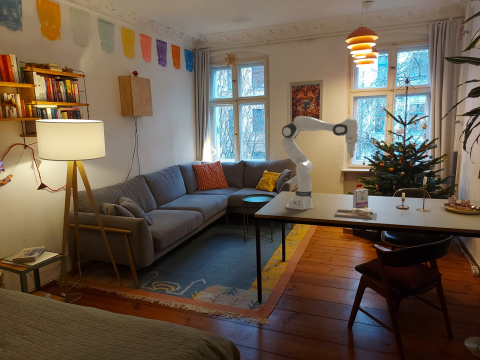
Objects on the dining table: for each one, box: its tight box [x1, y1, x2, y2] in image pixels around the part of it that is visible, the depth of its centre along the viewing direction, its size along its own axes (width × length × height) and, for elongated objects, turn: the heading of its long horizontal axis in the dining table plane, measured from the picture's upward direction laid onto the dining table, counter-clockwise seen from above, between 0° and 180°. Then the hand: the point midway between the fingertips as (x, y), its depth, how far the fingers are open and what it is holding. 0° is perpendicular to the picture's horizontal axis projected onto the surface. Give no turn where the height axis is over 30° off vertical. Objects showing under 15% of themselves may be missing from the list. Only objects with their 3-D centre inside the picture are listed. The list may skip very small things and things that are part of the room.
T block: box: [352, 207, 371, 217], centre depth 251 cm, size 12×12×5 cm
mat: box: [332, 208, 378, 221], centre depth 253 cm, size 30×20×2 cm, turn 66°
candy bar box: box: [352, 188, 369, 209], centre depth 269 cm, size 11×5×16 cm, turn 105°
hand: (351, 157), depth 258 cm, fingers open, 8 cm apart
